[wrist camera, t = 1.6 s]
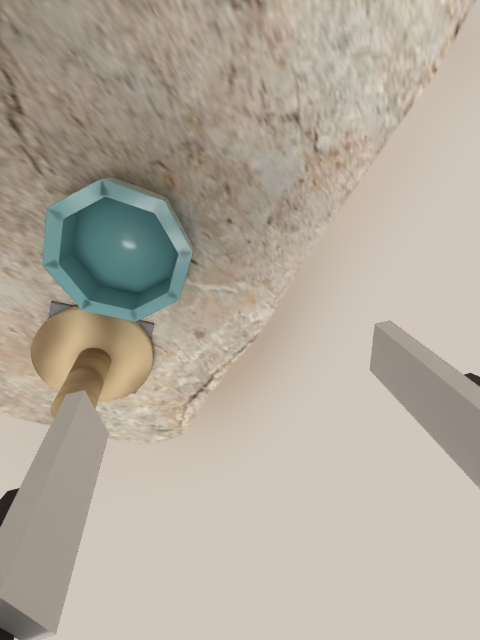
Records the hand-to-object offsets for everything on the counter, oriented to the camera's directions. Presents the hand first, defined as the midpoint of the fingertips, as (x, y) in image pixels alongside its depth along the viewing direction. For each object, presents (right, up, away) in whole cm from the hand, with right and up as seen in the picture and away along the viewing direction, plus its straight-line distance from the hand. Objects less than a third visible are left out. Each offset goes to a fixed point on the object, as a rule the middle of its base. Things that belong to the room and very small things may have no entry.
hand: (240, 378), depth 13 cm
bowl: (-12, +11, +17) cm, 23 cm away
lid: (-17, -1, +22) cm, 28 cm away
